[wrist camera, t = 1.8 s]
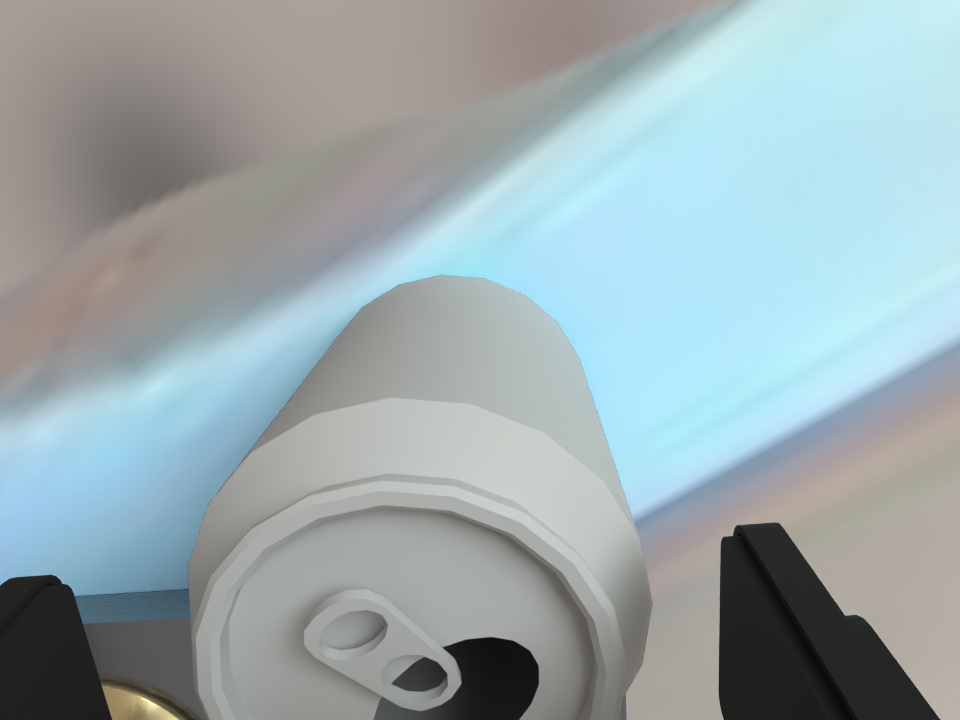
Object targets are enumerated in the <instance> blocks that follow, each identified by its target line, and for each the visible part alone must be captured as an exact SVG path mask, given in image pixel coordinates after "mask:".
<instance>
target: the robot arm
mask: <svg viewBox="0 0 960 720" xmlns="http://www.w3.org/2000/svg"><path fill="white" fill-rule="evenodd" d="M719 700H720V706H721V711H722V715H723V718H724V720H940V719H939V718H938V716H937V715H936V713H935V712H934V711H933V709H932V708H931V707H930V705H929V704H928V703H927V701H926V700H925V699H924V697H923V696H922V695H921V693H920V692H919V691H918V689H917V688H916V686H915V685H914V684H913V682H912V681H911V680H910V678H909V677H908V676H907V674H906V673H905V672H904V670H903V669H902V668H901V666H900V665H899V664H898V662H897V661H896V659H895V658H894V657H893V655H892V654H891V653H890V651H889V650H888V649H887V647H886V646H885V645H884V643H883V642H882V641H881V639H880V638H879V637H878V635H877V634H876V632H875V631H874V630H873V628H872V627H871V626H870V625H869V624H868V623H867V622H866V621H865V619H864V618H862V617H860V616H857V615H850V616H845V615H844V614H843V612H842V611H841V609H840V608H839V607H838V605H837V604H836V602H835V601H834V599H833V598H832V597H831V595H830V594H829V592H828V591H827V589H826V588H825V587H824V585H823V584H822V582H821V581H820V580H819V578H818V577H817V575H816V574H815V572H814V571H813V570H812V568H811V567H810V565H809V564H808V563H807V561H806V560H805V558H804V557H803V555H802V554H801V553H800V551H799V550H798V548H797V547H796V546H795V544H794V543H793V541H792V540H791V538H790V537H789V536H788V534H787V533H786V531H785V530H784V529H783V527H782V526H781V525H780V524H779V523H763V524H749V525H737V526H736V527H735V530H734V534H733V536H729V537H723V538H722V541H721V567H720V637H719ZM0 720H112V717H111V714H110V711H109V708H108V704H107V701H106V698H105V695H104V691H103V688H102V685H101V682H100V678H99V675H98V672H97V668H96V665H95V662H94V659H93V655H92V652H91V649H90V646H89V642H88V639H87V636H86V633H85V629H84V626H83V623H82V619H81V616H80V613H79V610H78V606H77V603H76V600H75V597H74V593H73V591H72V589H71V588H70V587H69V586H68V585H65V584H62V583H61V581H60V580H59V579H58V578H57V577H56V576H53V575H43V576H29V577H15V578H11V579H8V580H7V581H6V582H4V583H3V584H2V585H1V586H0Z"/></svg>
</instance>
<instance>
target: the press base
mask: <svg viewBox="0 0 960 720" xmlns="http://www.w3.org/2000/svg"><path fill="white" fill-rule="evenodd" d="M74 597H75V600H76V603H77V606H78V610H79V613H80V616H81V619H82V623H83V626H84V629H85V633H86V636H87V639H88V642H89V646H90V649H91V652H92V655H93V659H94V662H95V665H96V668H97V672H98V675H99V678H100V682H101V685H102V688H103V691H104V695H105V698H106V701H107V704H108V708H109V711H110V714H111V717H112V720H207V718H206V715H205V713H204V711H203V708H202V706H201V704H200V701H199V699H198V697H197V694H196V692H195V690H194V679H193V658H192V638H191V631H192V629H191V617H190V597H189V589H187V590H170V591H154V592H138V593H121V594H105V595H89V596H74ZM619 720H626V695H624V697H623V699H622V705H621V711H620V717H619Z"/></svg>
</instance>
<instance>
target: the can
mask: <svg viewBox="0 0 960 720" xmlns="http://www.w3.org/2000/svg"><path fill="white" fill-rule="evenodd" d="M188 576H189V597H190V617H191V629H192V631H191V638H192V658H193V679H194V690H195V692H196V694H197V697H198V699H199V701H200V704H201V706H202V708H203V711H204V713H205V715H206V718H207V720H619V717H620V711H621V705H622V699H623V697H624V695H625V694H626V692H627V690H628V688H629V687H630V685H631V683H632V682H633V680H634V678H635V676H636V675H637V673H638V671H639V669H640V668H641V666H642V664H643V658H644V652H645V646H646V640H647V634H648V628H649V622H650V616H651V610H652V604H653V602H652V597H651V592H650V587H649V583H648V578H647V573H646V568H645V563H644V558H643V553H642V548H641V544H640V539H639V536H638V533H637V530H636V527H635V524H634V521H633V518H632V515H631V512H630V509H629V506H628V503H627V500H626V497H625V494H624V491H623V488H622V485H621V482H620V479H619V476H618V473H617V470H616V467H615V463H614V460H613V457H612V454H611V451H610V448H609V445H608V442H607V439H606V436H605V433H604V430H603V427H602V424H601V421H600V418H599V415H598V412H597V409H596V406H595V403H594V400H593V397H592V394H591V391H590V388H589V385H588V382H587V379H586V376H585V373H584V370H583V367H582V364H581V361H580V358H579V356H578V355H577V353H576V351H575V350H574V348H573V346H572V345H571V343H570V341H569V340H568V338H567V336H566V335H565V333H564V332H563V330H562V328H561V327H560V325H559V323H558V322H557V321H556V320H554V319H553V318H552V317H551V316H550V315H549V314H547V313H546V312H545V311H544V310H543V309H541V308H540V307H539V306H538V305H537V304H536V303H534V302H533V301H532V300H531V299H530V298H528V297H527V296H526V295H524V294H522V293H520V292H517V291H515V290H512V289H510V288H507V287H505V286H502V285H500V284H498V283H495V282H493V281H490V280H488V279H485V278H475V277H462V276H450V275H438V276H434V277H429V278H425V279H421V280H417V281H413V282H408V283H404V284H400V285H397V286H396V287H394V288H393V289H391V290H389V291H388V292H386V293H384V294H383V295H381V296H380V297H378V298H376V299H375V300H373V301H372V302H370V303H368V304H367V305H365V306H363V307H362V308H361V309H360V311H359V312H358V313H357V314H356V316H355V317H354V318H353V319H352V320H351V322H350V323H349V324H348V325H347V326H346V328H345V329H344V330H343V331H342V333H341V334H340V335H339V336H338V337H337V339H336V340H335V341H334V343H333V344H332V345H331V346H330V348H329V349H328V350H327V352H326V353H325V354H324V355H323V357H322V358H321V359H320V361H319V362H318V363H317V365H316V366H315V367H314V368H313V370H312V371H311V372H310V374H309V375H308V376H307V377H306V379H305V380H304V381H303V383H302V384H301V385H300V387H299V388H298V389H297V390H296V392H295V393H294V394H293V396H292V397H291V398H290V399H289V401H288V402H287V403H286V405H285V406H284V407H283V409H282V410H281V411H280V412H279V414H278V415H277V416H276V418H275V419H274V420H273V421H272V423H271V424H270V425H269V427H268V428H267V429H266V431H265V432H264V433H263V434H262V436H261V437H260V438H259V440H258V441H257V442H256V443H255V445H254V446H253V447H252V449H251V450H250V451H249V453H248V454H247V455H246V456H245V458H244V459H243V460H242V462H241V463H240V464H239V465H238V467H237V468H236V469H235V471H234V472H233V473H232V474H231V476H230V477H229V478H228V480H227V481H226V482H225V484H224V485H223V486H222V487H221V489H220V490H219V491H218V493H217V494H216V495H215V496H214V498H213V499H212V500H211V502H210V503H209V504H208V507H207V510H206V513H205V516H204V519H203V522H202V525H201V528H200V531H199V534H198V537H197V540H196V543H195V546H194V549H193V552H192V555H191V558H190V561H189V564H188Z"/></svg>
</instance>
